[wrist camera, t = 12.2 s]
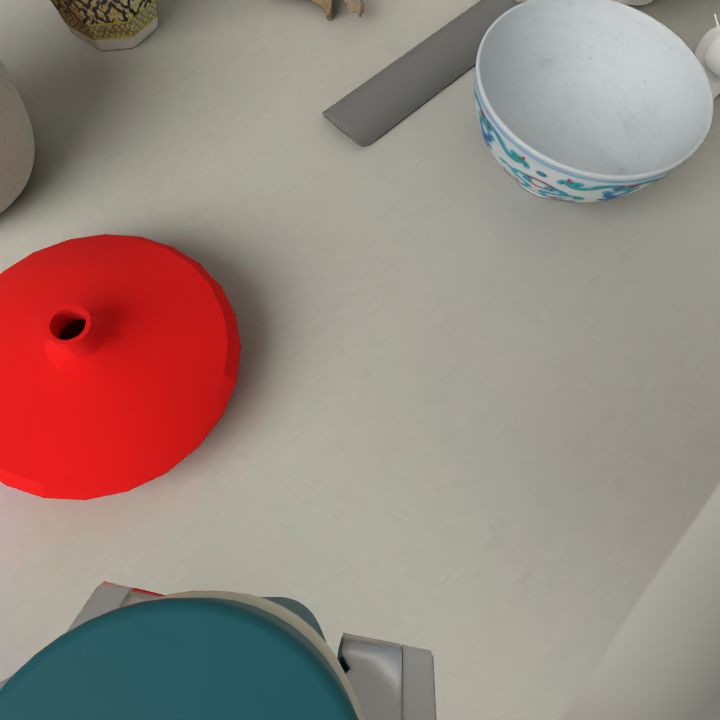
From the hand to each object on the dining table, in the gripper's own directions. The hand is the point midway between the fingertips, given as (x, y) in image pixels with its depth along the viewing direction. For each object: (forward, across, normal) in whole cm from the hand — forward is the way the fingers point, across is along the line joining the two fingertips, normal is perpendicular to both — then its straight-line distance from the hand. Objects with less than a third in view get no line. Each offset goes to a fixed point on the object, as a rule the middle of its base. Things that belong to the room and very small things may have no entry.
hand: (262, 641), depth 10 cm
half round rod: (+44, -1, -12) cm, 46 cm away
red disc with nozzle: (+24, +14, +9) cm, 29 cm away
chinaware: (+40, -12, -7) cm, 42 cm away
